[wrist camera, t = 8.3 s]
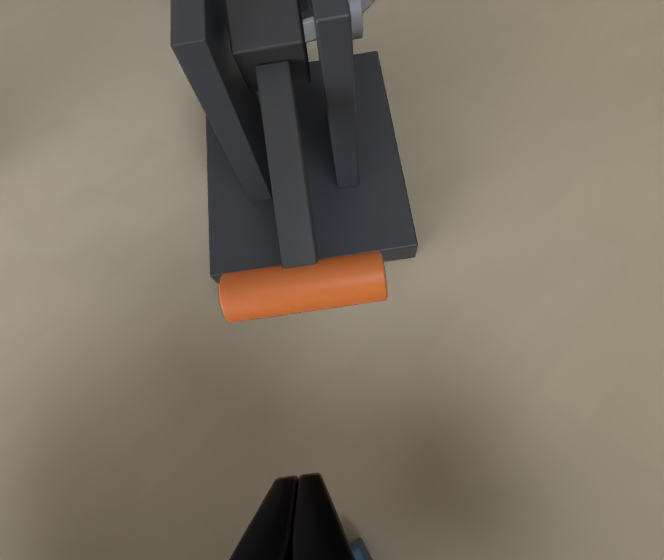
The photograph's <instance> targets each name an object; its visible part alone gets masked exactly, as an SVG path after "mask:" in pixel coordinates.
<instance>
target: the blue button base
mask: <svg viewBox="0 0 664 560" xmlns="http://www.w3.org/2000/svg"><path fill="white" fill-rule="evenodd" d="M350 546H351V548H352V551H353V553H354V556H355V558H356V560H372V559H371V557H370V555H369V553H368V551H367V549H366V547H365V545H364V543H363V541H362V539H361V538H358V539H356V540H355V541H353V542H351V543H350Z"/></svg>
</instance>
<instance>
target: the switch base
mask: <svg viewBox="0 0 664 560" xmlns="http://www.w3.org/2000/svg"><path fill="white" fill-rule="evenodd" d="M311 3H312V10H313V17H314V24H315V32H316V39H317V46H318V53H319V60H320V61H314V62H309V69H310V76H311V81H310V82H309V83H303V84H297V85H295V91H296V98H297V105H298V112H299V120H300V127H301V134H302V141H303V148H304V155H305V162H306V169H307V176H308V183H309V190H310V198H311V205H312V212H313V219H314V226H315V233H316V240H317V247H318V254H319V259H326V258H333V257H339V256H346V255H353V254H360V253H366V252H373V251H380V252H381V254H382V258H383V262H384V261H390V260H397V259H404V258H411V257H415V255H416V251H417V246H418V243H417V238H416V233H415V228H414V224H413V219H412V214H411V209H410V204H409V200H408V195H407V190H406V185H405V181H404V176H403V171H402V166H401V162H400V157H399V152H398V147H397V142H396V138H395V133H394V128H393V123H392V119H391V114H390V109H389V104H388V99H387V95H386V90H385V85H384V80H383V76H382V71H381V66H380V61H379V56H378V52H377V51H374V52H368V53H362V54H356V55H353V39H359V38H362V36H363V18H362V7H361V0H311ZM171 47H172V49H173V51H174V53H175V55H176V57H177V59H178V61H179V63H180V65H181V67H182V69H183V71H184V73H185V75H186V77H187V79H188V80H189V82H190V84H191V86H192V88H193V90H194V92H195V94H196V96H197V98H198V100H199V102H200V104H201V106H202V108H203V110H204V112H205V113H206V136H207V173H208V210H209V248H210V276H211V277H212V278H213V279H214V280H215V281H216V282H217V283H218V284H219V283H220V278H221V276H222V275H223V274H225V273H231V272H238V271H244V270H251V269H258V268H265V267H271V266H278V265H282V261H281V253H280V246H279V239H278V231H277V224H276V217H275V209H274V202H273V194H272V187H271V180H270V172H269V165H268V157H267V150H266V143H265V135H264V128H263V121H262V113H261V106H260V98H259V91H254V92H250V90H249V89H248V86H247V84H246V82H245V80H244V78H243V76H242V74H241V72H240V70H239V68H238V66H237V64H236V62H235V60H234V57H233V55H232V53H231V46H230V38H229V31H228V23H227V16H226V8H225V0H171Z"/></svg>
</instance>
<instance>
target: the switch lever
mask: <svg viewBox="0 0 664 560" xmlns="http://www.w3.org/2000/svg"><path fill="white" fill-rule="evenodd" d="M225 8H226V16H227V23H228V31H229V38H230V46H231V53H232V55H233V57H234V60H235V62H236V64H237V66H238V68H239V70H240V72H241V74H242V76H243V78H244V80H245V82H246V84H247V86H248V89H249V90H250V92H254V91H259V98H260V106H261V113H262V121H263V128H264V135H265V143H266V150H267V157H268V165H269V172H270V180H271V187H272V194H273V202H274V209H275V217H276V224H277V231H278V239H279V246H280V253H281V261H282V265H278V266H271V267H265V268H258V269H251V270H244V271H238V272H231V273H225V274H223V275H222V276H221V278H220V283H219V296H220V303H221V307H222V311H223V313H224V316H225V318H226V319H227V321H229V322H238V321H245V320H252V319H259V318H266V317H273V316H280V315H287V314H294V313H301V312H308V311H315V310H322V309H329V308H336V307H343V306H350V305H357V304H364V303H371V302H378V301H385V300H387V297H388V291H387V281H386V274H385V268H384V262H383V258H382V254H381V252H380V251H373V252H366V253H360V254H353V255H346V256H339V257H333V258H326V259H319V254H318V247H317V240H316V233H315V226H314V219H313V212H312V205H311V198H310V190H309V183H308V176H307V169H306V162H305V155H304V148H303V141H302V134H301V127H300V120H299V112H298V105H297V98H296V91H295V85H297V84H303V83H309V82H310V81H311V76H310V69H309V62H308V55H307V48H306V41H305V34H304V27H303V20H302V13H301V7H300V1H299V0H225Z"/></svg>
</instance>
